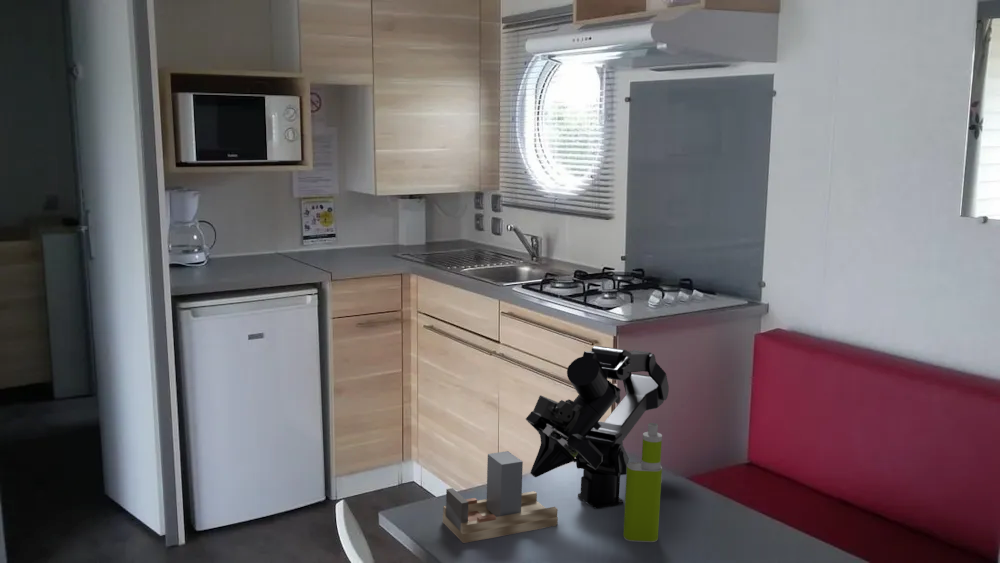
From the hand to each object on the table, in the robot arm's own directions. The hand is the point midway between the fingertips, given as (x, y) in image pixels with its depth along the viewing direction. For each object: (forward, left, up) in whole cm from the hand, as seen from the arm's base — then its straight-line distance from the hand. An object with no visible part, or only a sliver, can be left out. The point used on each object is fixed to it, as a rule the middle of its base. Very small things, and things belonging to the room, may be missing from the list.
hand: (532, 475), depth 155 cm
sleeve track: (+6, 0, -8) cm, 10 cm away
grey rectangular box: (+5, 0, -6) cm, 8 cm away
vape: (-14, +14, -8) cm, 21 cm away
